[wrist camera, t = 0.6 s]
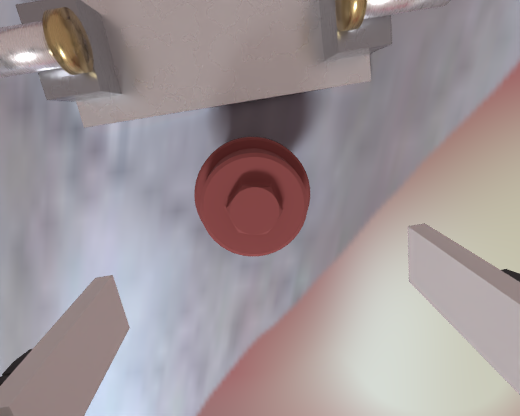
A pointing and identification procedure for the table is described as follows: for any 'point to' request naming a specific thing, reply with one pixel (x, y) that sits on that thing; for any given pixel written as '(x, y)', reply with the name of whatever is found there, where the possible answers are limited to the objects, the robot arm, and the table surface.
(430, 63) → the table surface
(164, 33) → the shaft bed
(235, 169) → the mechanical component
